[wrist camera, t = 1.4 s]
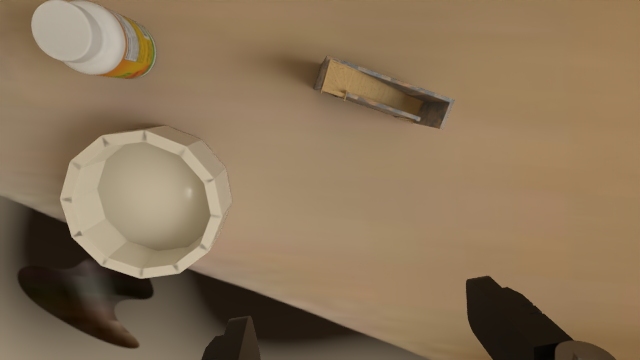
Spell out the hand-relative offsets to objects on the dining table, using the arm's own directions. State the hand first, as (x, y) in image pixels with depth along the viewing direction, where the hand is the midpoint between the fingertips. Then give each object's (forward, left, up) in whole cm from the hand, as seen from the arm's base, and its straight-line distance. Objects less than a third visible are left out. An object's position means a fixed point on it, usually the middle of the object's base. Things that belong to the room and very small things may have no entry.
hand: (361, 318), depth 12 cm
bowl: (0, -17, -25) cm, 30 cm away
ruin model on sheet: (-7, +6, -26) cm, 28 cm away
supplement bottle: (-14, -17, -25) cm, 34 cm away
